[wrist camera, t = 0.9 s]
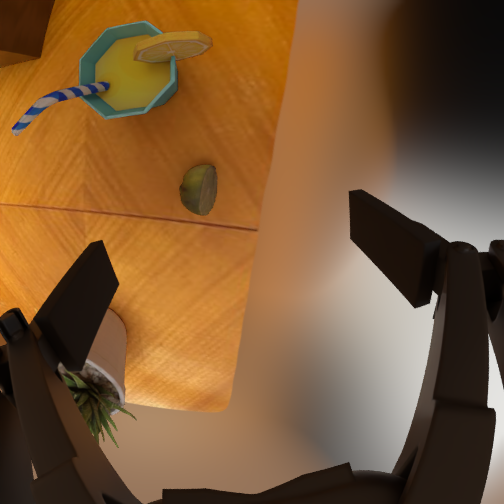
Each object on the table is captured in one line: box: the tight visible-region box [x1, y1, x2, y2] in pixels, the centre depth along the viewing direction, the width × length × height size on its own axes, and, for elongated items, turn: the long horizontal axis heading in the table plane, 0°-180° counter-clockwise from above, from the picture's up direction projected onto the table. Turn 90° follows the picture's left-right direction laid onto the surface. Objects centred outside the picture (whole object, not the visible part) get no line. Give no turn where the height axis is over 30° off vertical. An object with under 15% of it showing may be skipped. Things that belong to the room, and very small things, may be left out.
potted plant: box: [58, 308, 136, 447], centre depth 28 cm, size 13×14×20 cm
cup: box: [12, 21, 213, 136], centre depth 18 cm, size 14×8×15 cm, turn 113°
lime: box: [179, 165, 217, 215], centre depth 28 cm, size 4×5×5 cm
